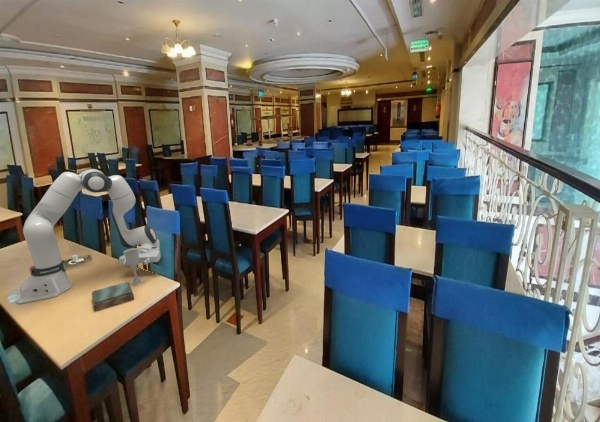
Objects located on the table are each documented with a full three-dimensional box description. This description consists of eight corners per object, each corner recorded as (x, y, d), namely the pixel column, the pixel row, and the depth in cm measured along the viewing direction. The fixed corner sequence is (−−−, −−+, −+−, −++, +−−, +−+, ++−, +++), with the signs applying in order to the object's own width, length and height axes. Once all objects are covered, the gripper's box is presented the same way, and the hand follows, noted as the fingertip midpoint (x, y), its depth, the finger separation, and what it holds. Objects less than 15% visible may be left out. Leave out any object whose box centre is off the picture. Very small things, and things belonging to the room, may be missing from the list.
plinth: (94, 311, 142) (93, 303, 141) (92, 298, 153) (91, 291, 152) (134, 299, 151) (132, 292, 150) (129, 287, 162) (128, 280, 161)
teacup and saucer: (84, 262, 195) (82, 256, 194) (68, 266, 191) (66, 260, 190) (83, 258, 202) (82, 252, 201) (68, 261, 198) (67, 255, 197)
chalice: (137, 286, 163) (131, 253, 158) (126, 285, 164) (119, 253, 160) (147, 279, 170) (141, 248, 165) (136, 278, 171) (130, 247, 166)
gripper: (124, 249, 177) (112, 259, 164) (162, 247, 179) (153, 257, 166) (126, 260, 179) (114, 271, 166) (163, 257, 181) (155, 268, 168)
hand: (134, 264), depth 166 cm, fingers open, 8 cm apart
